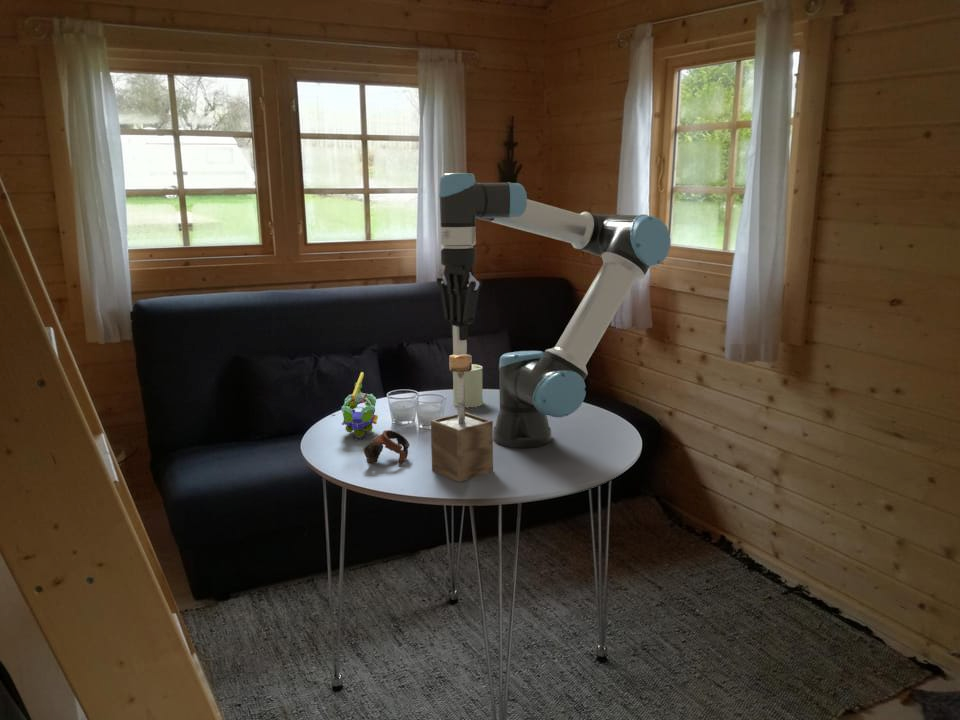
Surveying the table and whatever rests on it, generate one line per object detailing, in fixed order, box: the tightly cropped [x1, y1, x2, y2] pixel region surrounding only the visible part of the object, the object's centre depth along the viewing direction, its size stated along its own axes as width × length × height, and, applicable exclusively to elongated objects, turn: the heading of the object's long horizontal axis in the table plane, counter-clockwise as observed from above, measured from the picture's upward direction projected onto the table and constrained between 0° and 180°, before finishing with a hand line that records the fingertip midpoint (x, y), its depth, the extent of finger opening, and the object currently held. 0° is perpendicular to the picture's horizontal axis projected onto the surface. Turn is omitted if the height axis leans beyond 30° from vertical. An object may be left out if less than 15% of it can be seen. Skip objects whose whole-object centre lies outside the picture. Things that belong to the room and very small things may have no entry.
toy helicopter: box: [341, 371, 379, 440], centre depth 192 cm, size 25×9×15 cm, turn 4°
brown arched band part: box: [363, 429, 410, 465], centre depth 173 cm, size 12×10×8 cm
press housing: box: [430, 411, 494, 483], centre depth 166 cm, size 10×10×12 cm
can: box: [452, 363, 484, 409], centre depth 221 cm, size 9×9×12 cm
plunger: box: [440, 353, 484, 429], centre depth 163 cm, size 8×8×16 cm
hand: (460, 353), depth 161 cm, fingers closed
